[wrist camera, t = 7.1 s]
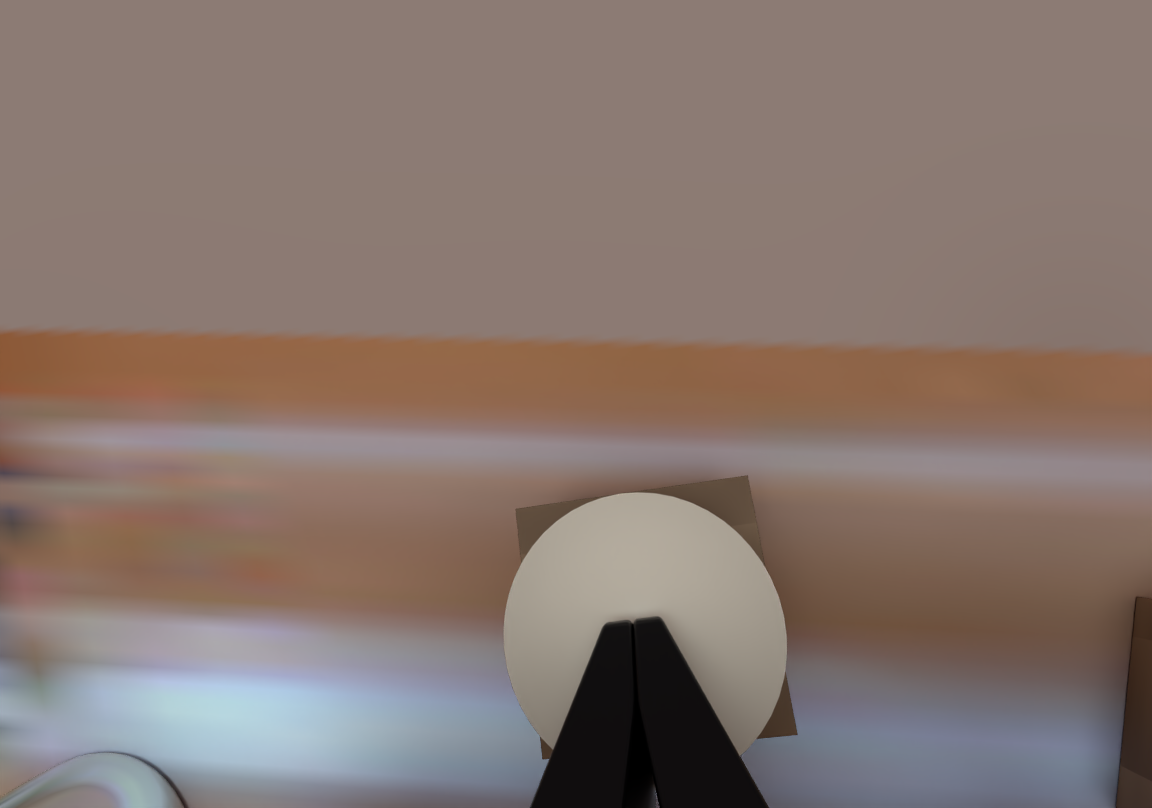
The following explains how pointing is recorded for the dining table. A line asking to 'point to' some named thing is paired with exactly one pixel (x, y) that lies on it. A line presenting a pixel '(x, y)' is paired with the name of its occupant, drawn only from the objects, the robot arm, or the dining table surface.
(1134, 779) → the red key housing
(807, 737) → the dining table surface
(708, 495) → the ivory key housing
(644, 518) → the ivory key
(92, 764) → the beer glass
